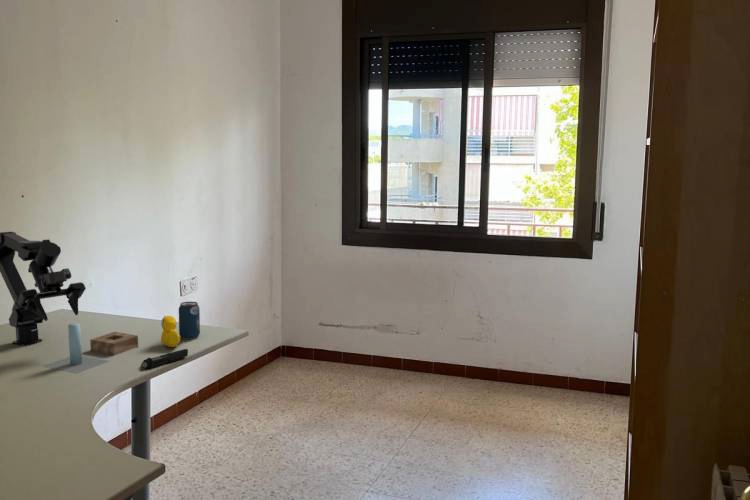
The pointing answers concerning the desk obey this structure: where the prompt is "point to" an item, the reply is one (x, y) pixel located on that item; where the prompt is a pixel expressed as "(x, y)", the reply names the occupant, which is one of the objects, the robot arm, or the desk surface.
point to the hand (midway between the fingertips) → (62, 317)
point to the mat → (65, 365)
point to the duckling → (169, 332)
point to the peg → (75, 344)
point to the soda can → (189, 320)
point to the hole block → (114, 343)
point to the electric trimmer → (164, 359)
